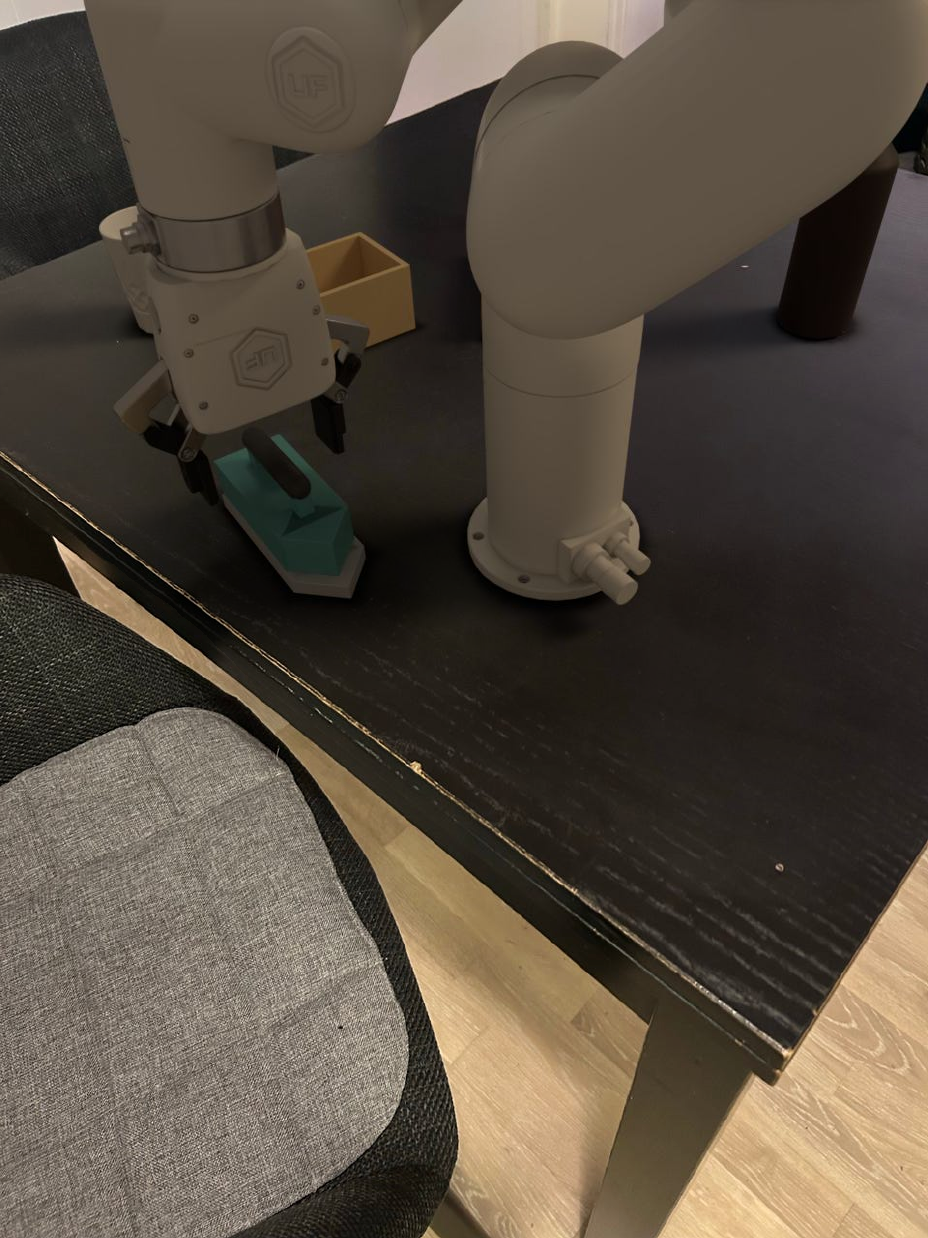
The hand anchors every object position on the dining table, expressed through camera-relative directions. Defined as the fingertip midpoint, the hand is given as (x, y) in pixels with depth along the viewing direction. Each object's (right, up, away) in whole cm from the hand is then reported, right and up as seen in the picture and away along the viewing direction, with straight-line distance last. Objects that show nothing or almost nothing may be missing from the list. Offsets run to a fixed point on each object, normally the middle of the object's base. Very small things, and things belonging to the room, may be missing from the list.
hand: (270, 468), depth 62 cm
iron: (+1, -5, +5) cm, 7 cm away
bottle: (+47, +18, +22) cm, 55 cm away
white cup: (-16, +20, +28) cm, 38 cm away
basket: (+1, +18, +25) cm, 31 cm away
